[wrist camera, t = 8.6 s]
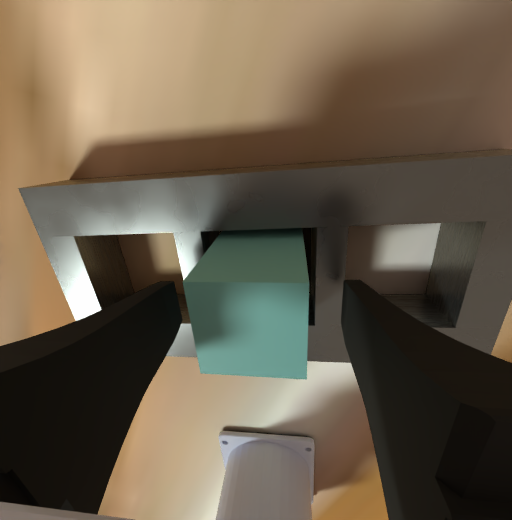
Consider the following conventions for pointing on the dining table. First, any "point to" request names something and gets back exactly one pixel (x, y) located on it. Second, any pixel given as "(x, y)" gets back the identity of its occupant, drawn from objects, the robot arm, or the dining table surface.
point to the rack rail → (298, 216)
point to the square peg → (251, 304)
